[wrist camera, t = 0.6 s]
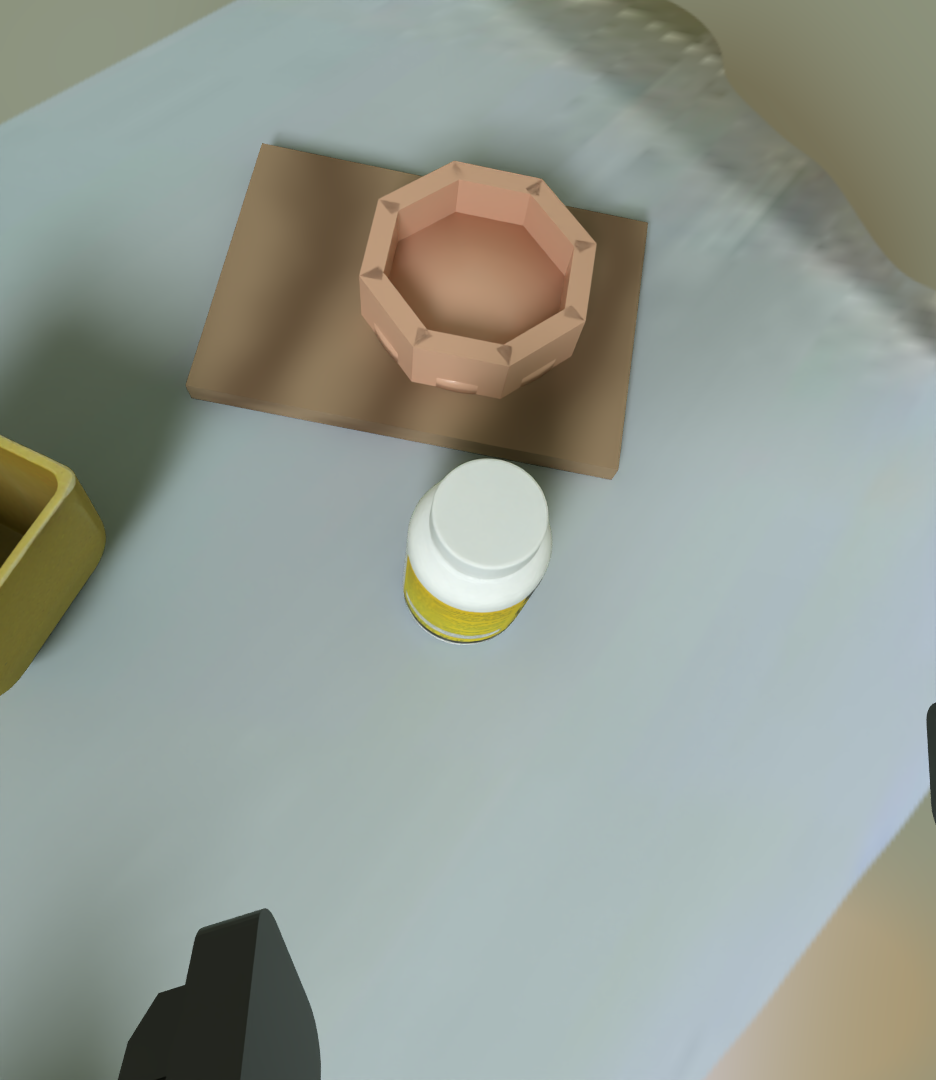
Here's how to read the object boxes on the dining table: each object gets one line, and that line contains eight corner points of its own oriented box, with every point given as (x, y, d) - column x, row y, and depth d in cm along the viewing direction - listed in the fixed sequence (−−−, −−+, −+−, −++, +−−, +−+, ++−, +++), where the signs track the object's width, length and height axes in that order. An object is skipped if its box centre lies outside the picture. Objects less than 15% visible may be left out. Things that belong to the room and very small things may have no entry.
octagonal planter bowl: (345, 370, 38) (341, 335, 35) (389, 191, 41) (389, 145, 39) (565, 413, 39) (579, 382, 36) (591, 232, 42) (606, 190, 39)
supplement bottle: (522, 650, 36) (569, 596, 27) (398, 643, 36) (402, 586, 26) (524, 533, 38) (569, 444, 29) (406, 525, 37) (412, 432, 28)
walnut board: (191, 397, 38) (185, 385, 37) (265, 161, 43) (262, 143, 42) (611, 479, 39) (618, 469, 38) (641, 238, 43) (647, 222, 42)
